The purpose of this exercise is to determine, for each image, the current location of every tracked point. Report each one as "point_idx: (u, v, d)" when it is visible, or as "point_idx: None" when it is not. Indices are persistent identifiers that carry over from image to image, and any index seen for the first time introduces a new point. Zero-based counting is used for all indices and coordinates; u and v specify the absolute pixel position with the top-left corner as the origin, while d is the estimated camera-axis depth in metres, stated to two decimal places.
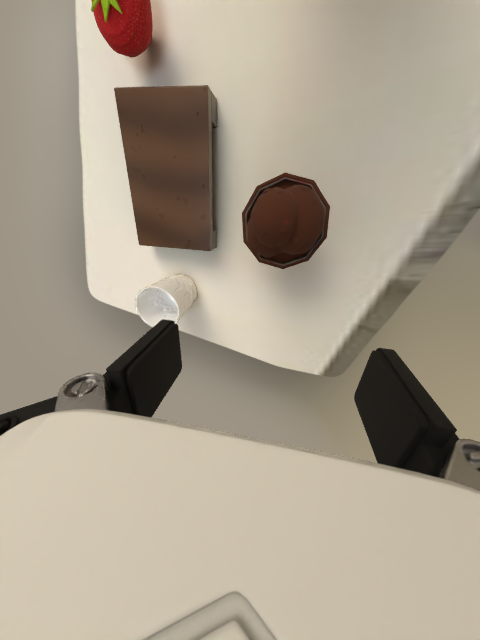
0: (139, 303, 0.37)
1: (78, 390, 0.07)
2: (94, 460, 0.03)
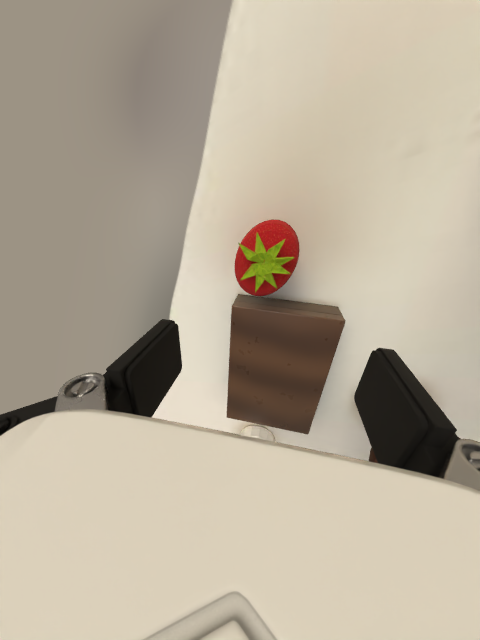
0: None
1: (78, 390, 0.07)
2: (94, 460, 0.03)
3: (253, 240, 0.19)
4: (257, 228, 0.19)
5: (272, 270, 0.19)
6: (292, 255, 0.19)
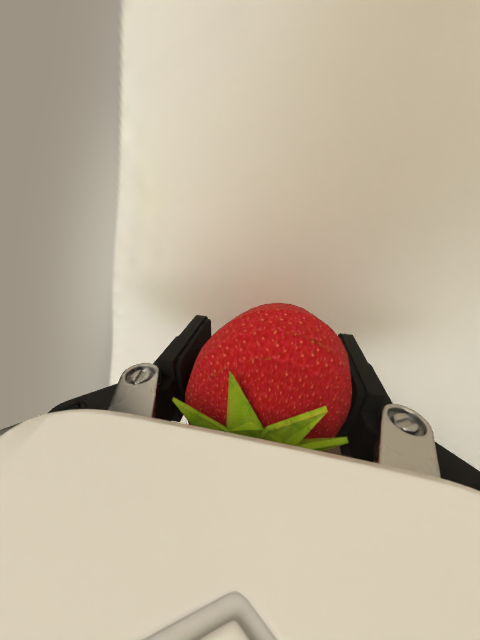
0: None
1: (136, 378, 0.07)
2: (94, 460, 0.04)
3: (224, 380, 0.06)
4: (235, 342, 0.06)
5: None
6: (339, 419, 0.06)
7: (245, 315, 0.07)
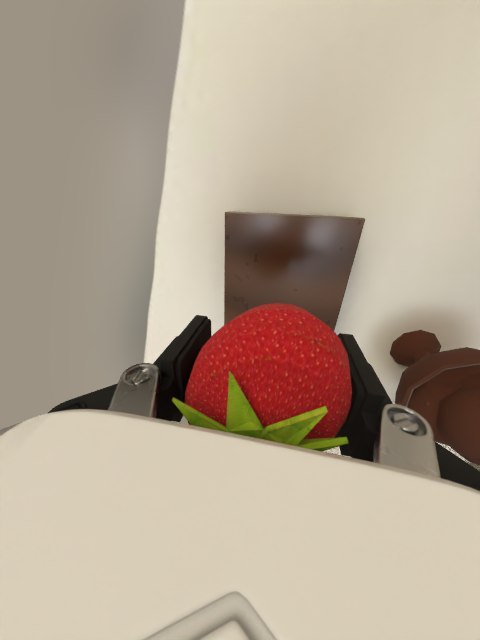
0: None
1: (136, 378, 0.07)
2: (94, 460, 0.03)
3: (224, 380, 0.06)
4: (234, 342, 0.06)
5: None
6: (339, 419, 0.06)
7: (245, 315, 0.07)
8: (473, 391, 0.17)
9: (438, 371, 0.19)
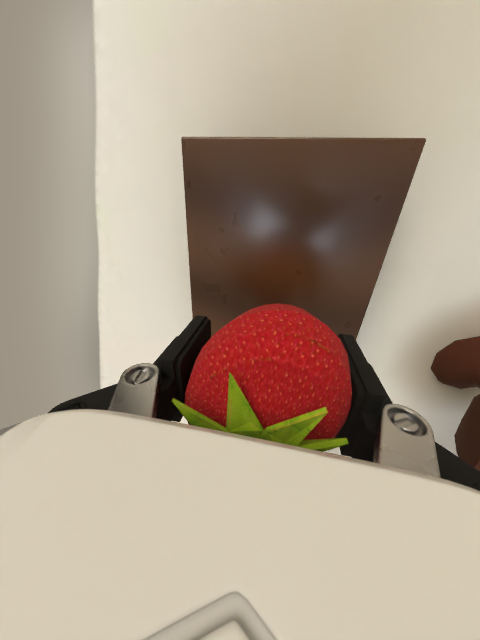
0: None
1: (136, 378, 0.07)
2: (94, 460, 0.03)
3: (224, 381, 0.06)
4: (234, 343, 0.06)
5: None
6: (339, 420, 0.06)
7: (245, 316, 0.07)
8: None
9: None
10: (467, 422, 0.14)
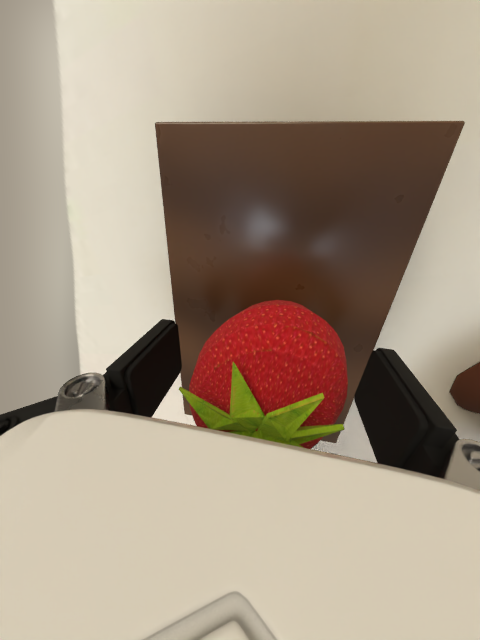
0: None
1: (78, 390, 0.07)
2: (94, 460, 0.03)
3: (227, 371, 0.07)
4: (237, 335, 0.07)
5: None
6: (335, 408, 0.07)
7: (247, 311, 0.08)
8: None
9: None
10: None
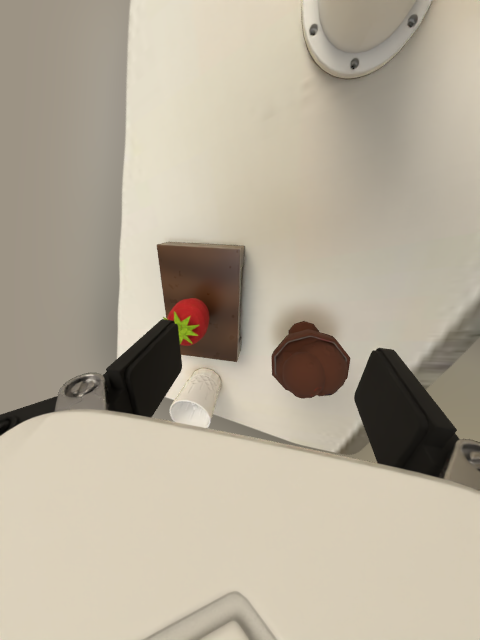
0: (173, 408, 0.41)
1: (78, 390, 0.07)
2: (94, 460, 0.03)
3: (174, 314, 0.29)
4: (176, 306, 0.29)
5: (186, 333, 0.29)
6: (199, 322, 0.29)
7: None
8: (296, 353, 0.28)
9: (284, 343, 0.30)
10: None
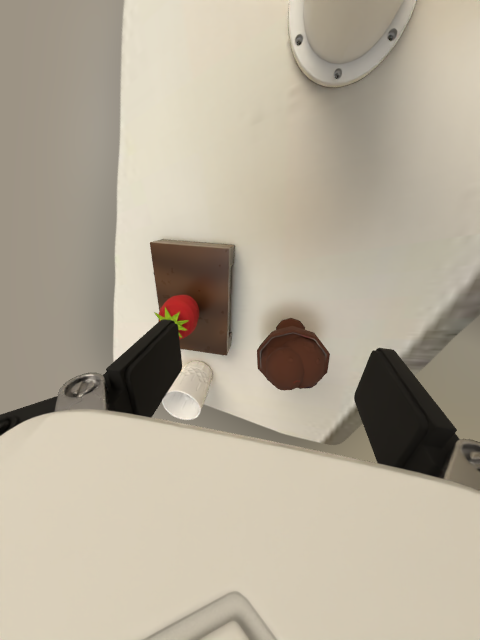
0: (165, 398, 0.43)
1: (78, 390, 0.07)
2: (94, 460, 0.03)
3: (165, 309, 0.31)
4: (167, 302, 0.31)
5: None
6: (189, 318, 0.31)
7: (171, 297, 0.32)
8: (279, 348, 0.30)
9: (268, 339, 0.32)
10: None
